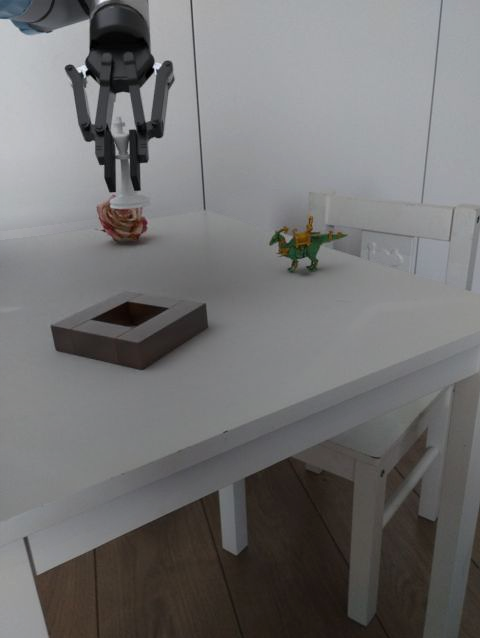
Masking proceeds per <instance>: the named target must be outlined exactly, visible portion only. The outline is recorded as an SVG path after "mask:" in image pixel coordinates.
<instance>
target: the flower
mask: <svg viewBox="0 0 480 638" xmlns="http://www.w3.org/2000/svg"><path fill="white" fill-rule="evenodd" d="M117 196H118V195H116V194H112V195H111V196H109V198H107V200H105V201H103V202H102V203H100V204H97V205H96V212H97V215H98V220H99V222H100V224H101V226H102V228H103V229H99V228H94V230H96V231H101V232H103V233H106V236H110V237H111V238H112V240H113V241H114V244H113V245H114V246H115V245H116V243H118V242H119V241H124V239H125V240H126V241H128V239H130V240H131V239H132V240H133V241H137V242H138V241H139V240H140V238H141V235H144V233H146V232H147V231H148V227H147V226H148V220H147V219H146V217H145V216H143V208H144V207H141V208H134V209H113V208H111V207H110V205H111V203H110V200H111V199H113V198H115V197H117Z"/></svg>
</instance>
